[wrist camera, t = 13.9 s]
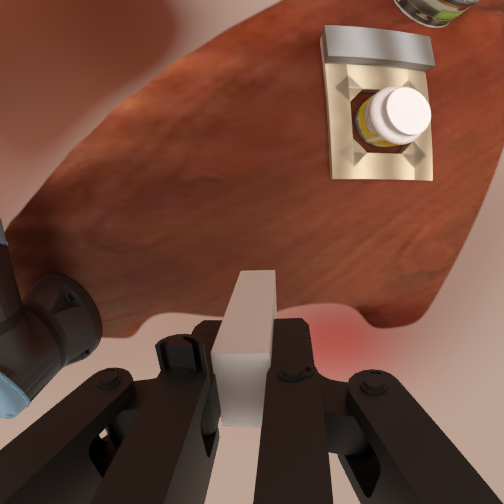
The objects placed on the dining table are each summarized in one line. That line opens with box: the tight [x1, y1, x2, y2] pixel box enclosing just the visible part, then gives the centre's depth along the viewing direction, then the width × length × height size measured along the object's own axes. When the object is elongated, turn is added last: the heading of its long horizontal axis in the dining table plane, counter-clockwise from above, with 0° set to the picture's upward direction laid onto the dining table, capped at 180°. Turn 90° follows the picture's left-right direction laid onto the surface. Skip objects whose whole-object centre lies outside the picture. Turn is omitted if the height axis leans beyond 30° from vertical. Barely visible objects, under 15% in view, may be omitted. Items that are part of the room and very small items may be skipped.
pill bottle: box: [355, 86, 431, 147], centre depth 30 cm, size 6×6×11 cm
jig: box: [320, 25, 435, 181], centre depth 32 cm, size 13×18×5 cm
